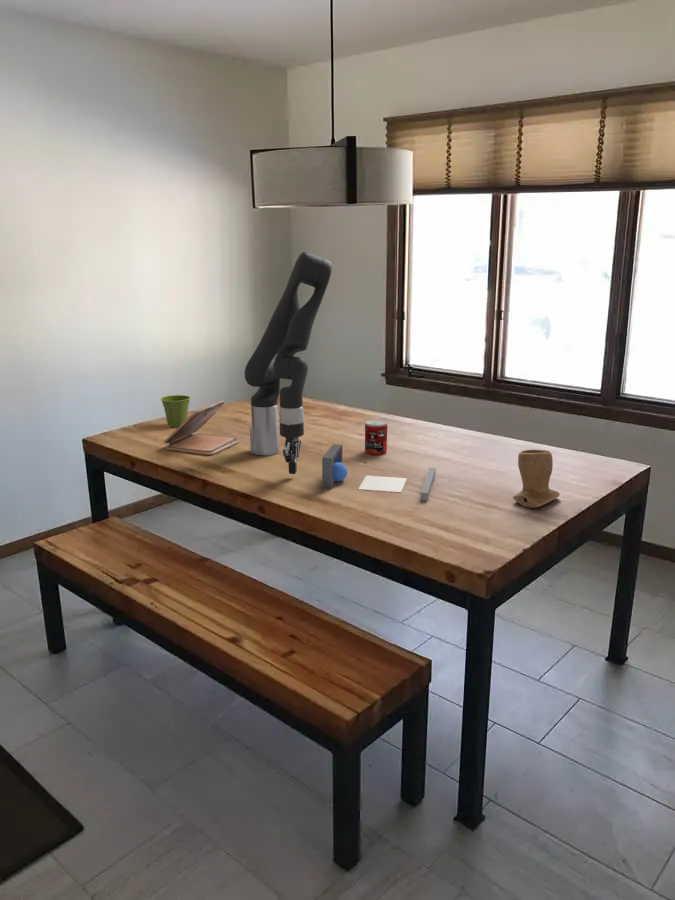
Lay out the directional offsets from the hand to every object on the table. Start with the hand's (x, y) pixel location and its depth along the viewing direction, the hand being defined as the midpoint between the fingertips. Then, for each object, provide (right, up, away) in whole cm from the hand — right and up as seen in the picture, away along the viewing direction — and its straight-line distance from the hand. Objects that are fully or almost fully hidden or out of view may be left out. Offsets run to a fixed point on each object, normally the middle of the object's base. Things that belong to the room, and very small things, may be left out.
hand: (292, 473), depth 240 cm
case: (-35, +8, +36) cm, 51 cm away
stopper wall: (+42, -4, -9) cm, 43 cm away
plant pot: (-50, +17, +63) cm, 82 cm away
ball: (+14, +1, -3) cm, 15 cm away
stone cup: (+71, -8, -20) cm, 74 cm away
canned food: (+28, +6, +27) cm, 39 cm away
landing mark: (+28, -3, -6) cm, 29 cm away
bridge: (+13, -2, -2) cm, 13 cm away
